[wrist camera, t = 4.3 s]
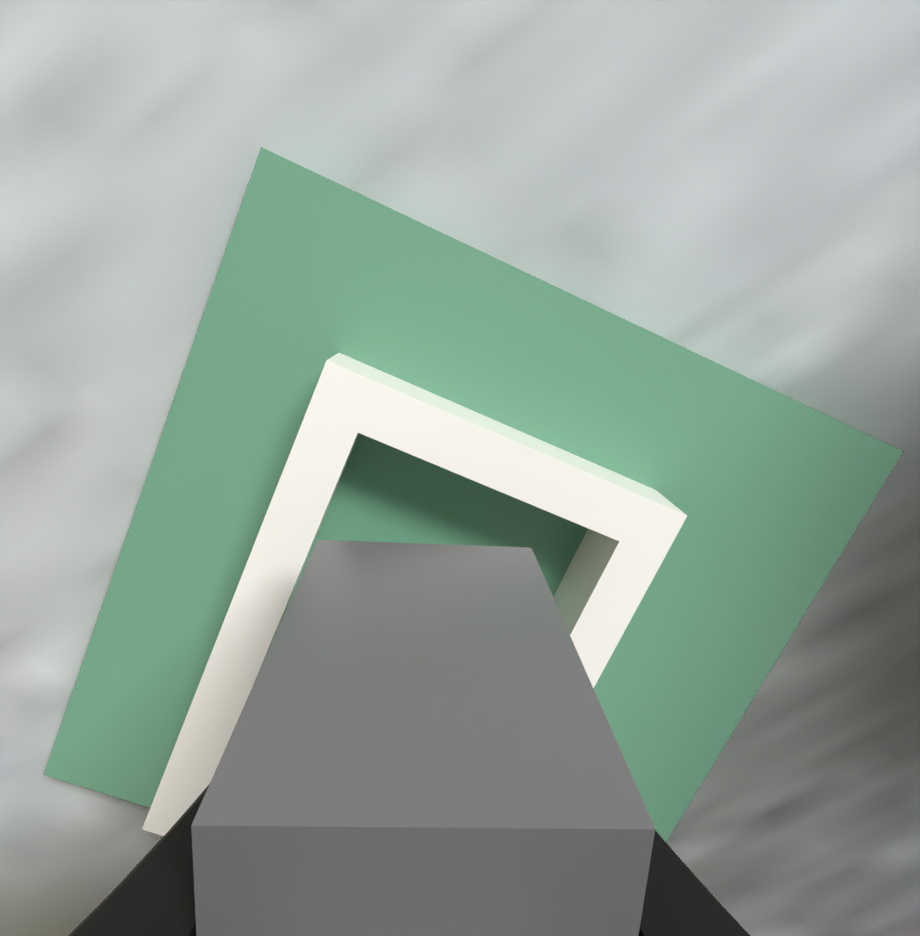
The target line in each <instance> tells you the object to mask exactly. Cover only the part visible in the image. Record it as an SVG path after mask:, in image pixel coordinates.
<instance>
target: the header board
mask: <svg viewBox="0 0 920 936" xmlns="http://www.w3.org/2000/svg"><path fill="white" fill-rule="evenodd" d="M902 453H903V451H901V450H899V449H897V448H895V447H893V446H891V445H889V444H886V443H884V442H882V441H880V440H878V439H876V438H874V437H872V436H870V435H867V434H865V433H863V432H861V431H859V430H857V429H855V428H853V427H851V426H848V425H846V424H844V423H842V422H840V421H838V420H836V419H834V418H832V417H829V416H827V415H825V414H823V413H821V412H819V411H817V410H815V409H813V408H810V407H808V406H806V405H804V404H802V403H800V402H798V401H796V400H794V399H791V398H789V397H787V396H785V395H783V394H781V393H779V392H777V391H775V390H772V389H770V388H768V387H766V386H764V385H762V384H760V383H758V382H756V381H753V380H751V379H749V378H747V377H745V376H743V375H741V374H739V373H737V372H734V371H732V370H730V369H728V368H726V367H724V366H722V365H720V364H718V363H715V362H713V361H711V360H709V359H707V358H705V357H703V356H701V355H699V354H696V353H694V352H692V351H690V350H688V349H686V348H684V347H682V346H680V345H677V344H675V343H673V342H671V341H669V340H667V339H665V338H663V337H661V336H658V335H656V334H654V333H652V332H650V331H648V330H646V329H644V328H642V327H639V326H637V325H635V324H633V323H631V322H629V321H627V320H625V319H623V318H620V317H618V316H616V315H614V314H612V313H610V312H608V311H606V310H604V309H601V308H599V307H597V306H595V305H593V304H591V303H589V302H587V301H585V300H582V299H580V298H578V297H576V296H574V295H572V294H570V293H568V292H566V291H563V290H561V289H559V288H557V287H555V286H553V285H551V284H549V283H547V282H544V281H542V280H540V279H538V278H536V277H534V276H532V275H530V274H528V273H525V272H523V271H521V270H519V269H517V268H515V267H513V266H511V265H509V264H506V263H504V262H502V261H500V260H498V259H496V258H494V257H492V256H490V255H488V254H485V253H483V252H481V251H479V250H477V249H475V248H473V247H471V246H469V245H466V244H464V243H462V242H460V241H458V240H456V239H454V238H452V237H450V236H447V235H445V234H443V233H441V232H439V231H437V230H435V229H433V228H431V227H428V226H426V225H424V224H422V223H420V222H418V221H416V220H414V219H412V218H409V217H407V216H405V215H403V214H401V213H399V212H397V211H395V210H393V209H390V208H388V207H386V206H384V205H382V204H380V203H378V202H376V201H374V200H371V199H369V198H367V197H365V196H363V195H361V194H359V193H357V192H355V191H352V190H350V189H348V188H346V187H344V186H342V185H340V184H338V183H336V182H333V181H331V180H329V179H327V178H325V177H323V176H321V175H319V174H317V173H314V172H312V171H310V170H308V169H306V168H304V167H302V166H300V165H298V164H295V163H293V162H291V161H289V160H287V159H285V158H283V157H281V156H279V155H276V154H274V153H272V152H270V151H268V150H266V149H264V148H262V147H261V149H260V152H259V155H258V158H257V161H256V164H255V166H254V169H253V172H252V175H251V178H250V181H249V184H248V187H247V190H246V192H245V195H244V198H243V201H242V204H241V207H240V210H239V213H238V215H237V218H236V221H235V224H234V227H233V230H232V233H231V236H230V239H229V241H228V244H227V247H226V250H225V253H224V256H223V259H222V262H221V265H220V267H219V270H218V273H217V276H216V279H215V282H214V285H213V288H212V290H211V293H210V296H209V299H208V302H207V305H206V308H205V311H204V314H203V316H202V319H201V322H200V325H199V328H198V331H197V334H196V337H195V339H194V342H193V345H192V348H191V351H190V354H189V357H188V360H187V363H186V365H185V368H184V371H183V374H182V377H181V380H180V383H179V386H178V389H177V391H176V394H175V397H174V400H173V403H172V406H171V409H170V412H169V414H168V417H167V420H166V423H165V426H164V429H163V432H162V435H161V438H160V440H159V443H158V446H157V449H156V452H155V455H154V458H153V461H152V464H151V466H150V469H149V472H148V475H147V478H146V481H145V484H144V487H143V489H142V492H141V495H140V498H139V501H138V504H137V507H136V510H135V513H134V515H133V518H132V521H131V524H130V527H129V530H128V533H127V536H126V539H125V541H124V544H123V547H122V550H121V553H120V556H119V559H118V562H117V564H116V567H115V570H114V573H113V576H112V579H111V582H110V585H109V588H108V590H107V593H106V596H105V599H104V602H103V605H102V608H101V611H100V614H99V616H98V619H97V622H96V625H95V628H94V631H93V634H92V637H91V639H90V642H89V645H88V648H87V651H86V654H85V657H84V660H83V663H82V665H81V668H80V671H79V674H78V677H77V680H76V683H75V686H74V689H73V691H72V694H71V697H70V700H69V703H68V706H67V709H66V712H65V714H64V717H63V720H62V723H61V726H60V729H59V732H58V735H57V738H56V740H55V743H54V746H53V749H52V752H51V755H50V758H49V761H48V763H47V766H46V769H45V772H44V775H46V776H49V777H52V778H56V779H59V780H62V781H65V782H68V783H72V784H75V785H78V786H81V787H84V788H88V789H91V790H94V791H97V792H101V793H104V794H107V795H110V796H113V797H117V798H120V799H123V800H126V801H129V802H133V803H136V804H139V805H142V806H146V807H149V808H150V810H149V812H148V815H147V817H146V820H145V823H144V825H143V828H142V830H145V831H148V832H152V833H155V834H158V835H161V836H164V835H165V834H166V833H167V832H168V831H169V830H170V829H171V828H172V826H173V825H174V824H175V823H176V822H177V821H178V820H179V818H180V817H181V816H182V815H183V814H184V813H185V812H186V811H187V809H188V808H189V807H190V806H191V805H192V804H193V802H194V801H195V800H196V799H197V798H198V797H199V795H200V794H201V793H202V792H203V791H204V790H205V788H206V787H207V786H208V785H209V784H210V782H211V780H212V777H213V775H214V773H215V771H216V768H217V766H218V764H219V762H220V759H221V757H222V755H223V753H224V750H225V748H226V746H227V743H228V741H229V739H230V737H231V734H232V732H233V730H234V728H235V725H236V723H237V721H238V719H239V716H240V714H241V712H242V710H243V707H244V705H245V703H246V700H247V698H248V696H249V694H250V691H251V689H252V687H253V685H254V682H255V680H256V678H257V676H258V673H259V671H260V669H261V666H262V664H263V662H264V660H265V657H266V655H267V653H268V651H269V648H270V646H271V644H272V642H273V639H274V637H275V635H276V633H277V630H278V628H279V626H280V623H281V621H282V619H283V617H284V614H285V612H286V610H287V608H288V605H289V603H290V601H291V599H292V596H293V594H294V592H295V589H296V587H297V585H298V583H299V580H300V578H301V576H302V574H303V571H304V569H305V567H306V565H307V562H308V560H309V558H310V556H311V553H312V551H313V549H314V546H315V544H316V542H317V540H341V541H368V542H394V543H421V544H448V545H475V546H501V547H528V548H532V550H533V552H534V555H535V557H536V559H537V562H538V564H539V566H540V568H541V571H542V573H543V575H544V577H545V580H546V582H547V584H548V587H549V589H550V591H551V593H552V596H553V598H554V600H555V602H556V605H557V607H558V609H559V612H560V614H561V616H562V618H563V621H564V623H565V625H566V627H567V630H568V632H569V634H570V637H571V639H572V641H573V643H574V646H575V648H576V650H577V652H578V655H579V657H580V659H581V662H582V664H583V666H584V668H585V671H586V673H587V675H588V677H589V680H590V682H591V684H592V687H593V689H594V691H595V693H596V696H597V698H598V700H599V702H600V705H601V707H602V709H603V712H604V714H605V716H606V718H607V721H608V723H609V725H610V727H611V730H612V732H613V734H614V737H615V739H616V741H617V743H618V746H619V748H620V750H621V752H622V755H623V757H624V759H625V762H626V764H627V766H628V768H629V771H630V773H631V775H632V777H633V780H634V782H635V784H636V787H637V789H638V791H639V793H640V796H641V798H642V800H643V802H644V805H645V807H646V809H647V812H648V814H649V816H650V818H651V821H652V823H653V825H654V827H655V830H656V831H657V832H658V834H659V835H660V836H661V837H662V838H663V840H664V841H665V842H666V841H667V840H668V838H669V836H670V835H671V833H672V831H673V830H674V828H675V826H676V825H677V823H678V821H679V820H680V818H681V817H682V815H683V813H684V812H685V810H686V808H687V807H688V805H689V803H690V802H691V800H692V798H693V797H694V795H695V794H696V792H697V790H698V789H699V787H700V785H701V784H702V782H703V780H704V779H705V777H706V775H707V774H708V772H709V770H710V769H711V767H712V766H713V764H714V762H715V761H716V759H717V757H718V756H719V754H720V752H721V751H722V749H723V747H724V746H725V744H726V742H727V741H728V739H729V738H730V736H731V734H732V733H733V731H734V729H735V728H736V726H737V724H738V723H739V721H740V719H741V718H742V716H743V714H744V713H745V711H746V710H747V708H748V706H749V705H750V703H751V701H752V700H753V698H754V696H755V695H756V693H757V691H758V690H759V688H760V687H761V685H762V683H763V682H764V680H765V678H766V677H767V675H768V673H769V672H770V670H771V668H772V667H773V665H774V663H775V662H776V660H777V659H778V657H779V655H780V654H781V652H782V650H783V649H784V647H785V645H786V644H787V642H788V640H789V639H790V637H791V635H792V634H793V632H794V631H795V629H796V627H797V626H798V624H799V622H800V621H801V619H802V617H803V616H804V614H805V612H806V611H807V609H808V607H809V606H810V604H811V603H812V601H813V599H814V598H815V596H816V594H817V593H818V591H819V589H820V588H821V586H822V584H823V583H824V581H825V580H826V578H827V576H828V575H829V573H830V571H831V570H832V568H833V566H834V565H835V563H836V561H837V560H838V558H839V556H840V555H841V553H842V552H843V550H844V548H845V547H846V545H847V543H848V542H849V540H850V538H851V537H852V535H853V533H854V532H855V530H856V528H857V527H858V525H859V524H860V522H861V520H862V519H863V517H864V515H865V514H866V512H867V510H868V509H869V507H870V505H871V504H872V502H873V500H874V499H875V497H876V496H877V494H878V492H879V491H880V489H881V487H882V486H883V484H884V482H885V481H886V479H887V477H888V476H889V474H890V473H891V471H892V469H893V468H894V466H895V464H896V463H897V461H898V459H899V458H900V456H901V454H902Z"/></svg>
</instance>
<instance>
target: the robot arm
mask: <svg viewBox="0 0 920 936" xmlns="http://www.w3.org/2000/svg"><path fill="white" fill-rule="evenodd" d="M208 787H209V785H208V786H207V787H206V788H205V790H204V791H203V792H202V793H201V794H200V795H199V797H198V798H197V799H196V800H195V801H194V802H193V804H192V805H191V806H190V807H189V808H188V809H187V811H186V812H185V813H184V814H183V815H182V816H181V817H180V818H179V820H178V821H177V822H176V823H175V824H174V825H173V826H172V828H171V829H170V830H169V831H168V832H167V833H166V834H165V835H164V837H163V838H162V839H161V840H160V841H159V842H158V843H157V844H156V845H155V846H154V847H153V849H152V850H151V851H150V852H149V853H148V854H147V855H146V856H145V857H144V858H143V859H142V860H141V861H140V863H139V864H138V865H137V866H136V867H135V868H134V869H133V870H132V871H131V872H130V873H129V874H128V876H127V877H126V878H125V879H124V880H123V881H122V882H121V883H120V884H119V885H118V886H117V887H116V888H115V889H114V891H113V892H112V893H111V894H110V895H109V896H108V897H107V898H106V899H105V900H104V901H103V902H102V903H101V904H100V905H99V906H98V907H97V908H96V909H95V910H94V911H93V912H92V913H91V914H90V915H89V916H88V917H87V918H86V919H85V920H84V921H83V922H82V923H81V924H80V925H79V926H78V927H77V928H76V929H75V930H74V931H73V932H72V933H71V934H70V935H69V936H196V917H195V896H194V874H193V852H192V831H191V825H192V823H193V820H194V818H195V816H196V814H197V811H198V809H199V807H200V805H201V802H202V800H203V798H204V796H205V793H206V791H207V789H208ZM638 936H750V935H749V934H748V933H747V932H746V931H745V930H744V929H743V928H742V927H741V926H740V924H739V923H738V922H737V921H736V920H735V919H734V918H733V917H732V916H731V915H730V914H729V913H728V912H727V911H726V909H725V908H724V907H723V906H722V905H721V904H720V903H719V902H718V901H717V900H716V899H715V897H714V896H713V895H712V894H711V893H710V892H709V891H708V890H707V888H706V887H705V886H704V885H703V884H702V883H701V882H700V881H699V880H698V878H697V877H696V876H695V875H694V874H693V873H692V872H691V871H690V869H689V868H688V867H687V866H686V865H685V864H684V863H683V862H682V860H681V859H680V858H679V857H678V856H677V855H676V854H675V852H674V851H673V850H672V849H671V848H670V847H669V845H668V844H667V843H666V842H665V841H664V840H663V838H662V837H661V836H660V835H659V834H658V832H657V831H656V830H655V834H654V841H653V847H652V853H651V860H650V866H649V872H648V879H647V885H646V891H645V898H644V904H643V910H642V917H641V923H640V929H639V935H638Z"/></svg>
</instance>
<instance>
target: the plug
mask: <svg viewBox="0 0 920 936" xmlns="http://www.w3.org/2000/svg"><path fill="white" fill-rule="evenodd" d="M191 831H192V852H193V874H194V896H195V917H196V936H638V935H639V929H640V923H641V917H642V910H643V904H644V898H645V891H646V885H647V879H648V872H649V866H650V860H651V853H652V847H653V841H654V834H655V827H654V825H653V823H652V821H651V818H650V816H649V814H648V812H647V809H646V807H645V805H644V802H643V800H642V798H641V796H640V793H639V791H638V789H637V787H636V784H635V782H634V780H633V777H632V775H631V773H630V771H629V768H628V766H627V764H626V762H625V759H624V757H623V755H622V752H621V750H620V748H619V746H618V743H617V741H616V739H615V737H614V734H613V732H612V730H611V727H610V725H609V723H608V721H607V718H606V716H605V714H604V712H603V709H602V707H601V705H600V702H599V700H598V698H597V696H596V693H595V691H594V689H593V687H592V684H591V682H590V680H589V677H588V675H587V673H586V671H585V668H584V666H583V664H582V662H581V659H580V657H579V655H578V652H577V650H576V648H575V646H574V643H573V641H572V639H571V637H570V634H569V632H568V630H567V627H566V625H565V623H564V621H563V618H562V616H561V614H560V612H559V609H558V607H557V605H556V602H555V600H554V598H553V596H552V593H551V591H550V589H549V587H548V584H547V582H546V580H545V577H544V575H543V573H542V571H541V568H540V566H539V564H538V562H537V559H536V557H535V555H534V552H533V550H532V548H528V547H501V546H475V545H448V544H421V543H394V542H368V541H341V540H317V542H316V544H315V546H314V549H313V551H312V553H311V556H310V558H309V560H308V562H307V565H306V567H305V569H304V571H303V574H302V576H301V578H300V580H299V583H298V585H297V587H296V589H295V592H294V594H293V596H292V599H291V601H290V603H289V605H288V608H287V610H286V612H285V614H284V617H283V619H282V621H281V623H280V626H279V628H278V630H277V633H276V635H275V637H274V639H273V642H272V644H271V646H270V648H269V651H268V653H267V655H266V657H265V660H264V662H263V664H262V666H261V669H260V671H259V673H258V676H257V678H256V680H255V682H254V685H253V687H252V689H251V691H250V694H249V696H248V698H247V700H246V703H245V705H244V707H243V710H242V712H241V714H240V716H239V719H238V721H237V723H236V725H235V728H234V730H233V732H232V734H231V737H230V739H229V741H228V743H227V746H226V748H225V750H224V753H223V755H222V757H221V759H220V762H219V764H218V766H217V768H216V771H215V773H214V775H213V777H212V780H211V782H210V784H209V787H208V789H207V791H206V793H205V796H204V798H203V800H202V802H201V805H200V807H199V809H198V811H197V814H196V816H195V818H194V820H193V823H192V825H191Z"/></svg>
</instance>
